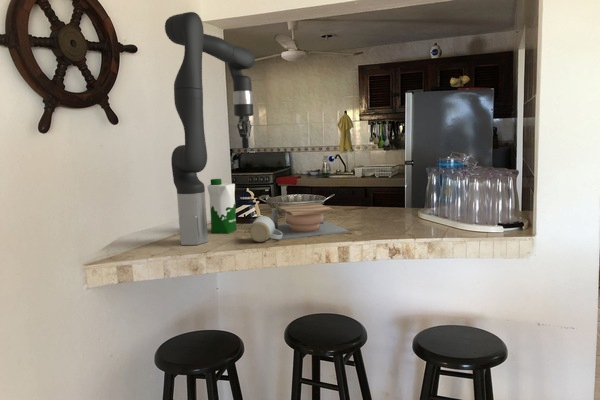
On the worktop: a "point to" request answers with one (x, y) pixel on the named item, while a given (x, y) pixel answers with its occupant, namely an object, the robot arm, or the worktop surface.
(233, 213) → the milk carton
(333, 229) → the slate mat
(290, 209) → the cover sheet
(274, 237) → the ceramic mug
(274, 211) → the hinge posts
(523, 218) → the worktop surface
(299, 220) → the terracotta bowl
